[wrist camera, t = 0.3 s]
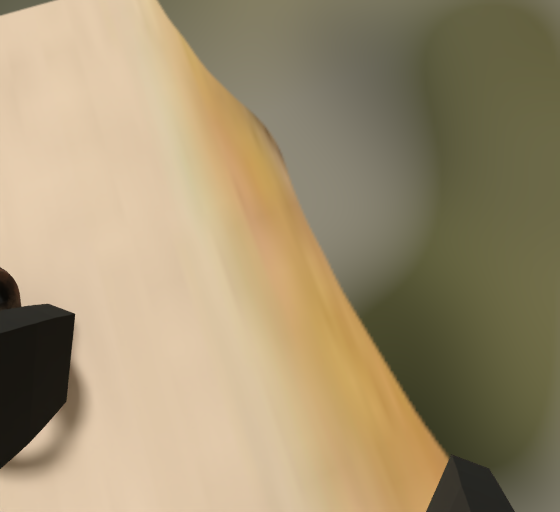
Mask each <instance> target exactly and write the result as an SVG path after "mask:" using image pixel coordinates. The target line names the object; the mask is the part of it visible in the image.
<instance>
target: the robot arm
mask: <svg viewBox="0 0 560 512" xmlns="http://www.w3.org/2000/svg"><path fill="white" fill-rule="evenodd" d="M74 320H75V314H74V313H71V312H69V311H66V310H63V309H61V308H58V307H55V306H53V305H50V304H41V305H32V306H24V307H18V308H12V309H6V310H1V311H0V469H1V468H2V467H3V466H4V465H5V464H6V463H7V462H9V461H10V460H11V459H12V458H13V457H14V456H15V455H17V454H18V453H19V452H20V451H21V450H22V449H23V448H24V447H25V446H27V445H28V444H29V443H30V442H31V441H32V439H33V438H34V437H35V436H36V435H37V434H38V433H39V432H40V431H41V430H42V429H43V428H44V427H45V425H46V424H47V423H48V422H49V421H50V420H51V419H52V417H53V416H54V415H55V414H56V413H57V412H58V411H59V409H60V408H61V407H62V406H63V405H64V404H65V402H66V399H67V389H68V379H69V370H70V360H71V350H72V340H73V330H74ZM426 512H515V511H514V510H513V508H512V506H511V505H510V503H509V501H508V499H507V498H506V496H505V494H504V493H503V491H502V489H501V488H500V486H499V484H498V483H497V481H496V479H495V477H494V476H493V474H492V473H491V471H490V469H489V468H486V467H484V466H481V465H478V464H476V463H473V462H470V461H468V460H465V459H462V458H460V457H457V456H454V455H452V454H451V456H450V459H449V461H448V463H447V466H446V468H445V470H444V472H443V475H442V477H441V479H440V481H439V484H438V486H437V488H436V491H435V493H434V495H433V497H432V500H431V502H430V504H429V506H428V509H427V511H426Z"/></svg>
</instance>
